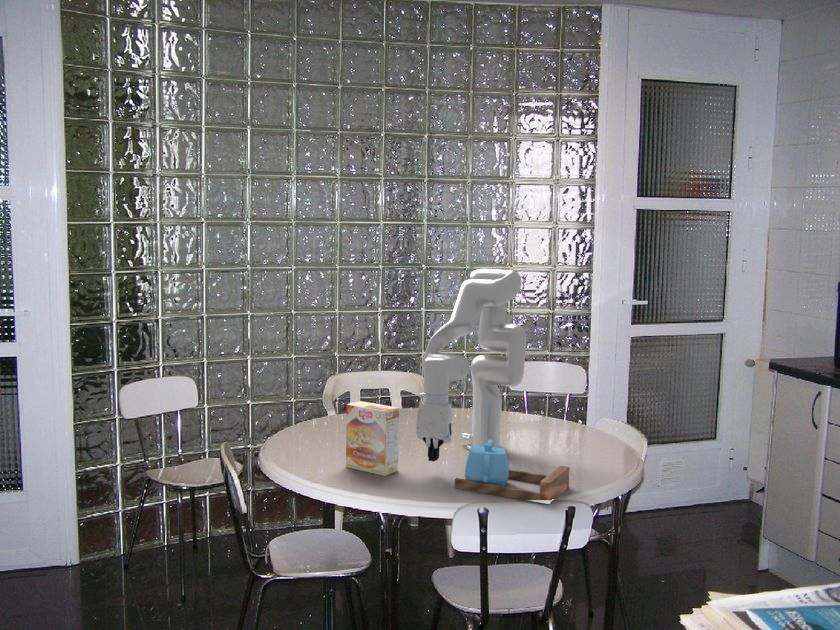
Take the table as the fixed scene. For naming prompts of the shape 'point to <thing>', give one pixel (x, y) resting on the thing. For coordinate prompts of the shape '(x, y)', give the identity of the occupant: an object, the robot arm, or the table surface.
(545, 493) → the guide track
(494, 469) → the teapot
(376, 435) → the coffeecake box
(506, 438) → the table surface
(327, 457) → the table surface
